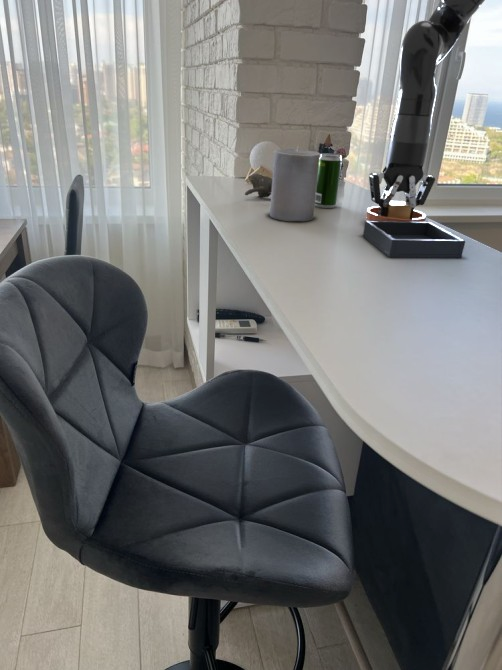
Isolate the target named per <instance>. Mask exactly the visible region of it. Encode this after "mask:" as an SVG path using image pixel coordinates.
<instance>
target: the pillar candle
mask: <svg viewBox="0 0 502 670" xmlns="http://www.w3.org/2000/svg"><path fill="white" fill-rule="evenodd" d="M299 146H300V145H299V144H298V145H297V146H296V147H297V148H278V149H274V151H273V153H274V154H273V165H272V177H271V178H272V191H271V195H270V207H269V216H270V217H271V218H273V219H274V220H279V221H284V222H310V221H312V220H313V219H314V214H315V207H316V206H315V197H316V187H317V177H318V168H319V159H320V154H321V152H319V151H314V150H307V149H301V148H300V149H299Z"/></svg>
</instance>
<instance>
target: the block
mask: <svg viewBox="0 0 502 670" xmlns="http://www.w3.org/2000/svg"><path fill="white" fill-rule="evenodd" d="M388 208H389V209H388V214H387V217H391V218H399V219H409V218H410V213H411V208H412V206H411V205H409V204H408V203H406V201H404V200H391V201H390V203H389V205H388Z"/></svg>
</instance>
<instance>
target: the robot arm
mask: <svg viewBox="0 0 502 670" xmlns="http://www.w3.org/2000/svg"><path fill="white" fill-rule="evenodd" d="M485 1H486V0H439V3H438V5H437V6H436V7H435V9H434V11H433V12H432V14H431V15H430V17H429V19H428V20H419V21H417V22H415V23H414V24H412V25H411V26H410V27H409V29H408V30H407V31H406V33H405V35H404V37H403V40H402V43H401V46H400V53H399V75H398V76H399V78H398V79H399V91H398V94H397V100H396V105H395V113H394V117H393V121H392V123H391V128H390V132H389V141H388V146H387V152H386V159H385V166H384V167H383V170H382V171H380V172H377V173H373V172H371V173H369V175H368V180H369V181H368V182H369V189H370V191H369V192H370V200H371V201H372V203H375V204H376V205H378V206H379V210H378V215H380V216H385V217H387V214H388V209H389V208H388V205H389V203H390V201H392V199H393V198H394V197H395V195H396V193H399V192H403V195H404V200H405V202H406V203H408V204H409V205H411V206H412V208H411V213H410V218H409V219H412V217H413V212H414V210H415V208H416V207H417V206H423V205H425V203H426V201H427V198H428V196H429V194H430V192H431V190H432V188H433V186H434V184H435V182H436V177H435V176H432V175H429V174H424V168H423V167H424V165H425V161H426V156H427V150H428V146H429V140H430V135H431V130H432V119H433V113H434V107H435V104H436V103H435V102H436V97H437V85H436V84H435V76H436V70H437V65H438V64H439V63H440V62H441V61H443V60H444V59H445V57H446V56H447V55H448V54H449V52H450V51H451V50H452V48H453V47H454V46H455V44H456V43H457V41H458V40H459V38H460V36H461V35H462V33H463V31H464V30H465V28H466V27H467V25H468V23H469V21H470V20H471V18H472V17H473V15H475V13H476V12H477V11H478V10H479V9H480V7H481V6H482V5H483V4H484V3H485ZM383 180H384V181H385V186H384V187H383V190H382V194H381V184H382V181H383ZM419 182H420V186H419V189H418V190H417V189H416V185H418V183H419ZM416 190H417V191H416Z"/></svg>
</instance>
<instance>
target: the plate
mask: <svg viewBox="0 0 502 670" xmlns="http://www.w3.org/2000/svg"><path fill="white" fill-rule="evenodd" d="M378 210H379V205H377V206H371V207H367V208H366V212H365V219H364V222H365V221H403V222H426V219H427V215H426V214H425V213H423V212H422V211H419V210H415V209H414V212H413V217H412V219H399V218H391V217H385V216H380V215H378Z"/></svg>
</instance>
